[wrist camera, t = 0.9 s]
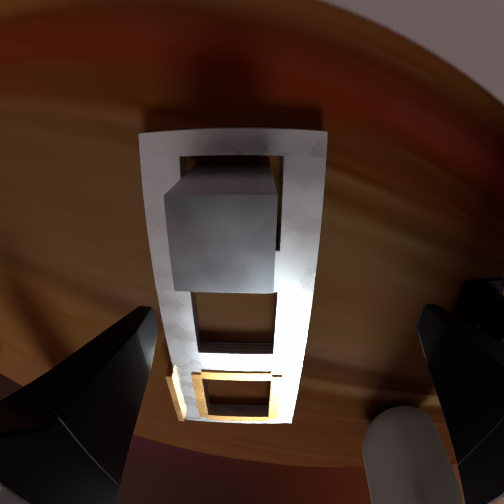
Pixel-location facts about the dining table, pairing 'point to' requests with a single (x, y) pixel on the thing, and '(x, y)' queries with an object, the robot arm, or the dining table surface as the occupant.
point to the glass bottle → (408, 460)
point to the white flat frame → (285, 275)
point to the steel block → (223, 228)
